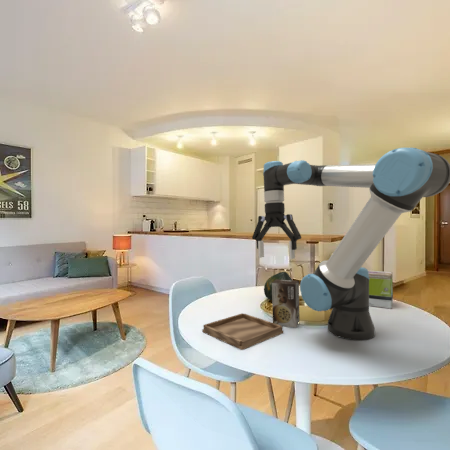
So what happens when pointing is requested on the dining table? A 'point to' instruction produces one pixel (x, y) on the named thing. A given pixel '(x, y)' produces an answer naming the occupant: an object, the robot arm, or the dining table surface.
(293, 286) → the coffee box
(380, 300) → the tea box
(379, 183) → the robot arm
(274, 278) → the squash
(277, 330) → the walnut tray
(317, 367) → the dining table surface
